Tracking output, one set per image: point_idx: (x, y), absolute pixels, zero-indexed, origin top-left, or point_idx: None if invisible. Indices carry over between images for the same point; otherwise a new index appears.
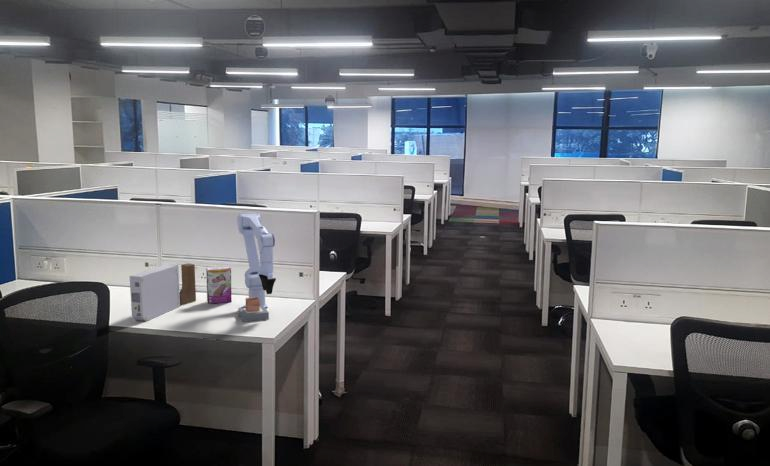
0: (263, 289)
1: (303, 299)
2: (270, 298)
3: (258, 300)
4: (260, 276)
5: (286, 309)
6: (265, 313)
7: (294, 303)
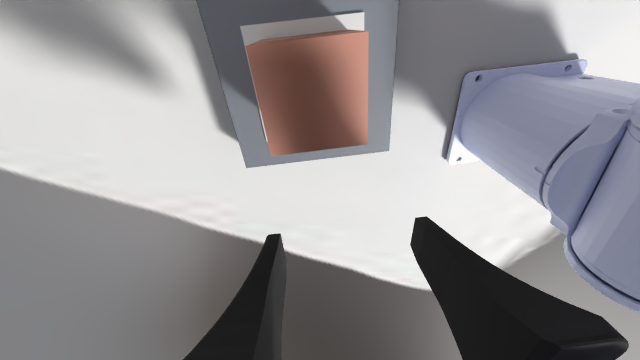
0: (418, 222)
1: None
2: None
3: (271, 146)
4: (527, 338)
5: (383, 225)
6: (242, 149)
7: None
